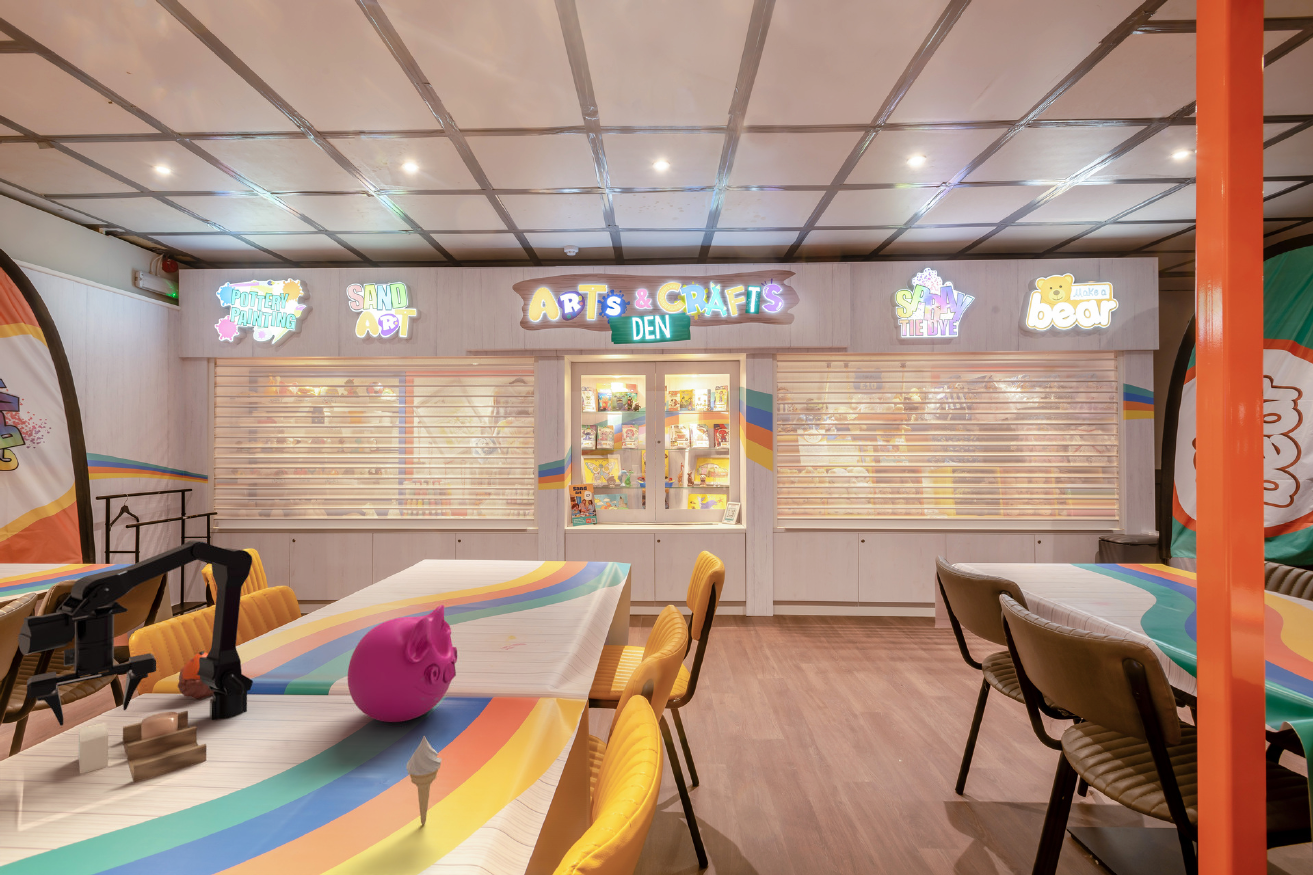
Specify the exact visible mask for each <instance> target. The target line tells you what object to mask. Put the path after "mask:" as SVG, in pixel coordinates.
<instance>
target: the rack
mask: <svg viewBox="0 0 1313 875" xmlns="http://www.w3.org/2000/svg"><path fill="white" fill-rule="evenodd" d="M177 713H178V731H176V732H172V733H169V734H165V735H161V736H158V737H154V738H150V739H146V740H143V741H141V722H142V721H140V722H137V723H133V724H129V725H125V726H123V727H122V744H123V747H124V750H125V755H126V757H127V761H128V766H129V768H130V772H131V777H132V781H133V783H134V784H135V783H138V782H141V781H145V780H147V779H151V778H154V777H157V776H161V775H163V774H167V773H171V772H173V771H178V770H181V769H184V768H186V767H190V766H193V765H197V764H200V763H203V762H207V744H206V743H203V744H200V745H199V743H198V742H197V733H198V732H197V730H198V729H197V728H198V727H197V726H196V725H195V726H191V727H189V711H188V710H185V711H180V712H177Z"/></svg>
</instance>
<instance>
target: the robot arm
mask: <svg viewBox="0 0 1313 875" xmlns="http://www.w3.org/2000/svg"><path fill="white" fill-rule="evenodd" d="M195 561H200V562H203V563H206V564H209V565H211V570H212V571H211V573H212V577H213V579H214V583H215V585H216V597H215V598H216V599H215V608H214V609H215V610H214V617H213V629H212V639H211V647H210V650H209V652H207V653H208V655H207V656H206V657H200V658H199V671H198V673H197V675H199V676H200V680H201V682H203V683H204V684H205V685H208V687H209V689H210V690H211V691H212V690H213V691H215V692H213V695H212V698H211V699H210V700H209V718H210V720H212V721H214V720H216V721H217V720H223V719H232V718H234V717H237V716H239V715H240V716H241V715H242V714H243V713H247V712H248V692H249V691H251V688H252V686H253V683H254V681H253V679H251V678H249V677H247V676H246V675H244V674H243V672H242V671H243V670H242V664H241V663H242V661H241V658H240V655H239V653H238V649H237V636H238V628H239V617H240V607H241V606H240V605H241V598H242V587H243V585H244V584H245V583H246V580H247V579H248V577H249V575H250V572H251V568H252V565H253V556H252V554H250V553H249V552H248V551H246V550H244V549H238V548H231V547H230V548H229V547H226V548H224V547H219V546H216V545H213V544H209V543H208V542H206V541H203V540H202V541H201V540H188V541H186V542H185V543H183V544H181V545H179V546H176V547H174V548H171V549H169V550H166V551H163V552H161V553H158V554H157V555H154V556H151V557H148V558H146V559H144V560H140V561H138V562H135V563H133V564H131V565H128V566H126V567H123V568H117V569H113V570H112V569H111V570H107V571H101V572H97V573H94V574H93V573H92V574H89V575H86V576H83V577H81V578H80V579H77V580H76V581H74V584H73V586H72V587H71V590H70V594H69V595H68V596H67V598H65V599H64V601H63V602H62V603H61V604H60V606H59V607H58V608H57V609H56V610H55V612H54V613H48V614H43V615H31V616H26V617H24V618H23V624H22V625H21V627H20V631H19V633H18V635H17V636H18V637H17V638H18V639H17V642H18V647H19V650H20V652H21V654H22V655H24V656H27V655H30V654H35V653H40V652H44V651H49V650H53V649H57V648H63V647H66V646H68V644H69V643H71V642H73V640H74V648H73V647H72V648H68V649H64V650H63V666H64V667H68V666H73V671H74V673H73V672H72V673H68V674H63V675H57V671H51V672H46V673H39V674H36V675H31V676H30V677H29V678H28V679H27V680H26V699H34V698H36V701H37V702H40V701H44V702H45V703H46V704H47V705H48V706H49V708H50V709H51V710H52V711H53V714H54V716H55V718H56V720H57V722H58V723H59V726H64V712H63V706H62V702H61V695H60V690H59V687H61V686H66V685H71V684H77V683H80V682H85V681H86V682H87V681H91V680H95V679H100V678H104V677H109V676H114V675H118V674H124V673H126V680H125V687H124V695H123V700H122V701H123V702H122V706H123V707H122V710H123V711H127V709H128V707H129V704H130V702H131V700H132V697H133V695H134V693H135V691H136V690H137V688H138V686H140V683H141V681H142V680H143V679H147V678H149V674H152V673H155V672H157V659H156V657H155V655H154V654H152V653H150V652H149V653H143V654H140V655H135V656H129V659H128V662H122V663H118V664H115V662H114V659H115V655H114V654H115V651H114V648H115V646H114V645H115V615H117V614H122V613H127V612H128V608H126V607H124V606H122V605H121V604H120V603H119V602H118V601H117V600H119V599H121V598H122V597H124V596H125V595H127V594H128V593H129V592H131V591H132V590H133V589H134V588H136V587H137V586H139V585H140V584H143V583H145V582H148V581H150V580H153V579H155V578H157V577H159V576H162V575H164V574H166V573H169V572H171V571H174V570H176V569H179V568H180V567H183V566H186V565H187V564H190V563H193V562H195Z"/></svg>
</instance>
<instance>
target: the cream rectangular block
mask: <svg viewBox="0 0 1313 875" xmlns="http://www.w3.org/2000/svg"><path fill="white" fill-rule="evenodd" d="M77 745H78V748H77V749H78V752H77V753H78V755H77V757H78V758H77V760H78V769H79V774H80V775H82V774H86V773H89V772H93V771H95V770H99V769H103V768H107V767H109V731H108V728H107V723H106V721H105V722H102V723H101V722H100V723H97V724H94V725H89V726H85V727H80V728H78V744H77Z"/></svg>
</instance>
